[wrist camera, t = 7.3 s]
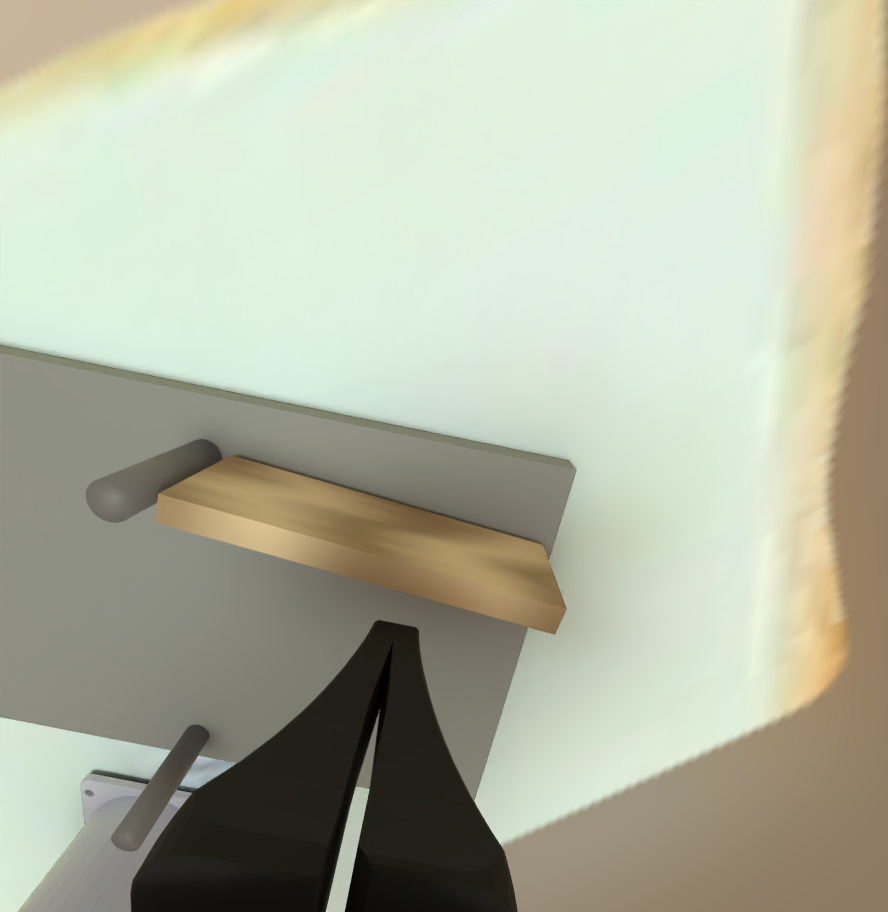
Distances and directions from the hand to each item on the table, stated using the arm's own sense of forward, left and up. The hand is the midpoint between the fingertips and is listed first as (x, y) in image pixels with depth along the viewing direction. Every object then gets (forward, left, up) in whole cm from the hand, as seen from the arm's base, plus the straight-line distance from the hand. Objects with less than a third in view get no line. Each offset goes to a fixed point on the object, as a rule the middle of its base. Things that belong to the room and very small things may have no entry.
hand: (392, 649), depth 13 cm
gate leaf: (+2, +1, -4) cm, 5 cm away
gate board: (-4, +7, -6) cm, 10 cm away
